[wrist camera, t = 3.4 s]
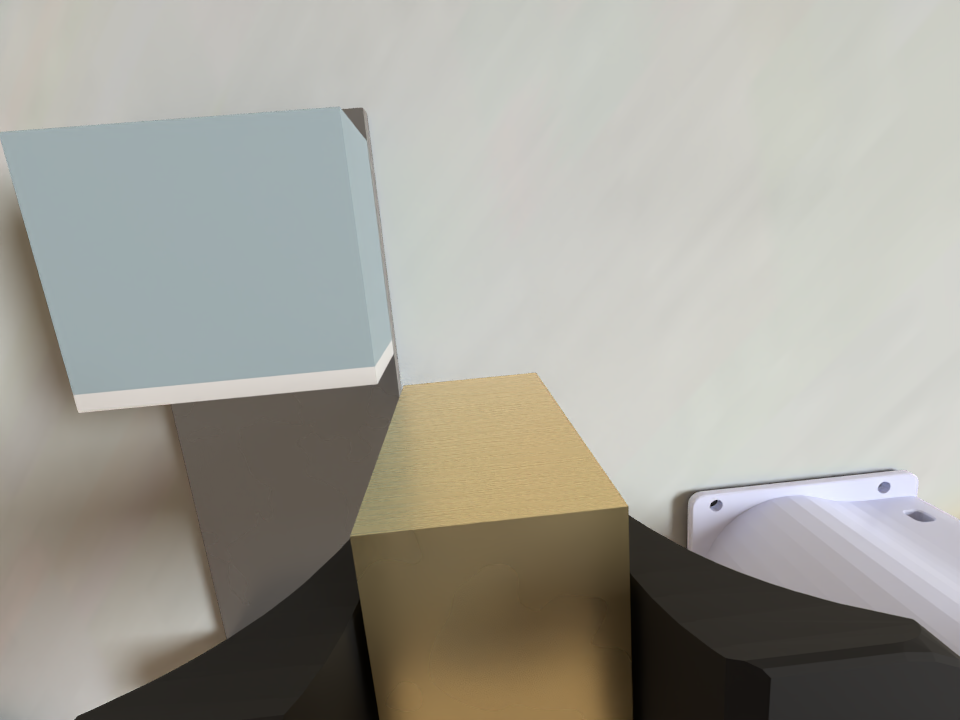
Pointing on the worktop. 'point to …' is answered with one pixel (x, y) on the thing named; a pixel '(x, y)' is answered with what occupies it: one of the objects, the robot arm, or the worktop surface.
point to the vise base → (283, 475)
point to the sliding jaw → (206, 255)
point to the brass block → (493, 561)
